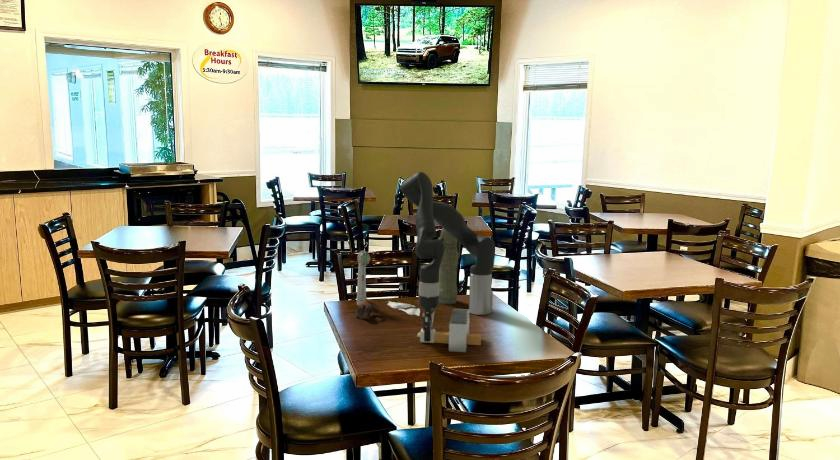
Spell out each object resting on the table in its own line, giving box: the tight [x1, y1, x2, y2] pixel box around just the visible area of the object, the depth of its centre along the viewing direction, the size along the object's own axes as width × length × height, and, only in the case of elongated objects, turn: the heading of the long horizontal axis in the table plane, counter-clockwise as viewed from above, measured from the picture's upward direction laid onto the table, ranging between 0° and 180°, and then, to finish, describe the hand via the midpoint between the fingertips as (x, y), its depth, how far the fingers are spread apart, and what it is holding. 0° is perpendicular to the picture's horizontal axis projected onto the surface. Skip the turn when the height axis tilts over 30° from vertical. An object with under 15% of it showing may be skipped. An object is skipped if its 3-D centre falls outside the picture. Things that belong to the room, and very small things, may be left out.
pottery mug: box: [355, 298, 381, 320], centre depth 260 cm, size 12×9×8 cm
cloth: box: [387, 300, 421, 317], centre depth 275 cm, size 26×14×2 cm, turn 23°
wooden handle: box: [416, 328, 482, 346], centre depth 230 cm, size 23×4×4 cm, turn 83°
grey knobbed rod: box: [356, 250, 371, 307], centre depth 276 cm, size 5×7×25 cm
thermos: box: [437, 227, 461, 305], centre depth 285 cm, size 9×12×35 cm
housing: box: [448, 308, 471, 353], centre depth 229 cm, size 6×20×13 cm, turn 173°
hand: (427, 338), depth 231 cm, fingers closed on wooden handle, 4 cm apart
